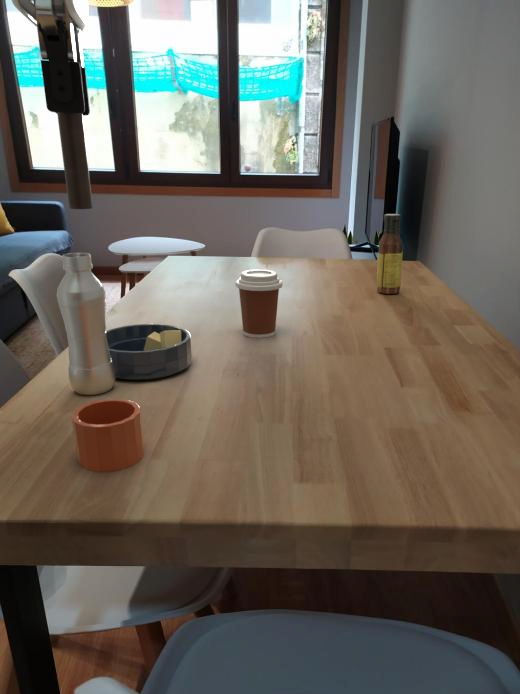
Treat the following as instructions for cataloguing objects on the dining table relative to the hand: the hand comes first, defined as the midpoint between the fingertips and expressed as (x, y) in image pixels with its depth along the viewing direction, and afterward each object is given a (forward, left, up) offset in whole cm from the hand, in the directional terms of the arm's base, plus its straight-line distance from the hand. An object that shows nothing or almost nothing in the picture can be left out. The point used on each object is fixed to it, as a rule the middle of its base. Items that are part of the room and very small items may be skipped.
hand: (69, 111), depth 50 cm
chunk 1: (+4, +31, -34) cm, 46 cm away
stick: (0, 0, -9) cm, 9 cm away
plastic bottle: (-4, +19, -36) cm, 41 cm away
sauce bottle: (+63, +75, -36) cm, 105 cm away
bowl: (+3, +29, -36) cm, 46 cm away
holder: (0, -2, -36) cm, 36 cm away
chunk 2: (+8, +29, -32) cm, 43 cm away
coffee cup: (+24, +44, -36) cm, 62 cm away
